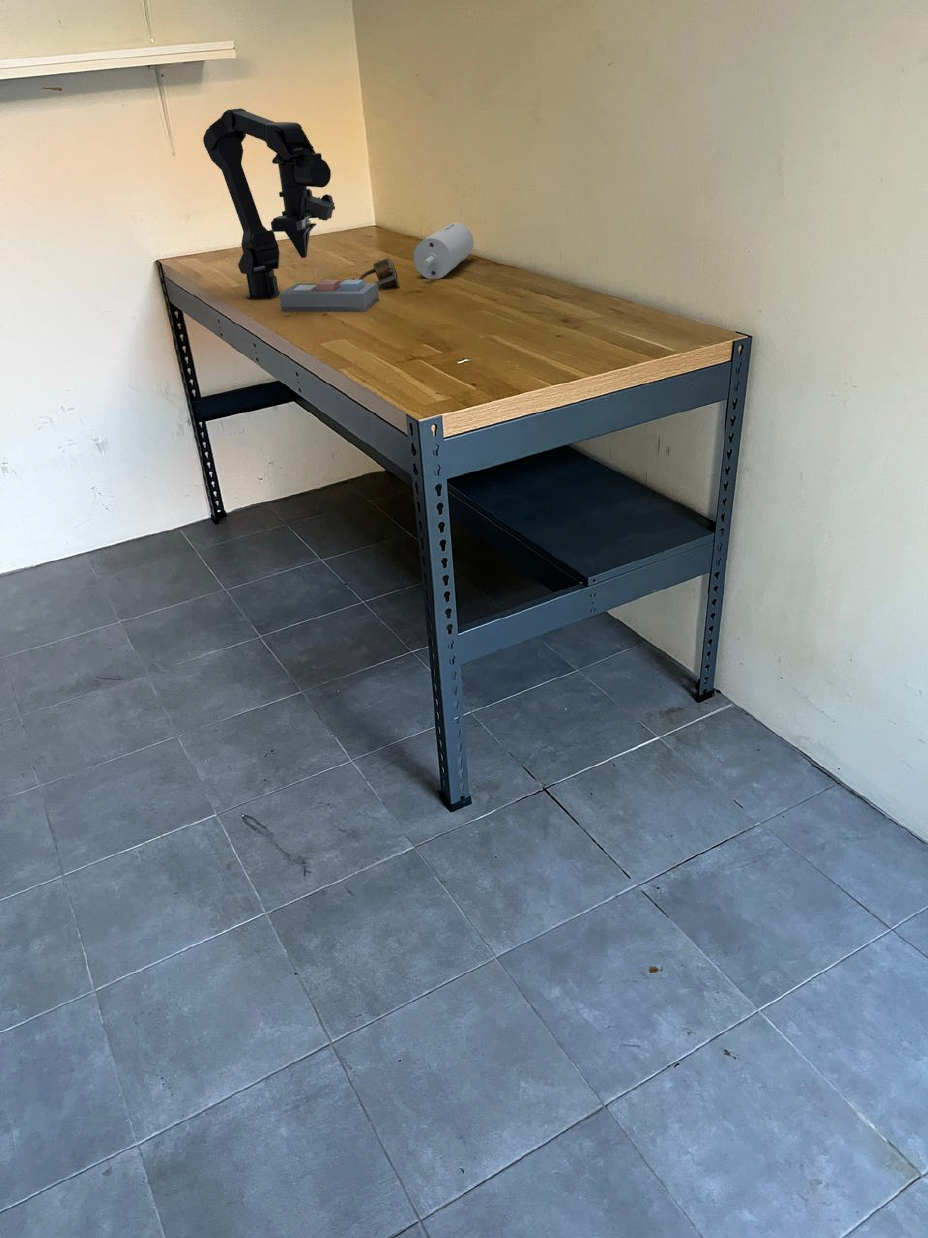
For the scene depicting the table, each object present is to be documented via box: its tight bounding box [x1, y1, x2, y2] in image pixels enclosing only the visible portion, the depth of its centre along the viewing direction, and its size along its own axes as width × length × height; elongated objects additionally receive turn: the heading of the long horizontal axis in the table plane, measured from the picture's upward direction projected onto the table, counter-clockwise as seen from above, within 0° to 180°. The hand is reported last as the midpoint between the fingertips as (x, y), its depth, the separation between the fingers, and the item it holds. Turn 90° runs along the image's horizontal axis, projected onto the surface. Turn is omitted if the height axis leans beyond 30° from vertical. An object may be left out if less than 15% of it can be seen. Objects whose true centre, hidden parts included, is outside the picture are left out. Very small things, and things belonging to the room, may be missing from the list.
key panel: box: [278, 282, 380, 313], centre depth 225 cm, size 21×11×4 cm, turn 77°
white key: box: [293, 285, 316, 291], centre depth 226 cm, size 4×4×3 cm
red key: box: [316, 279, 341, 291], centre depth 224 cm, size 4×4×3 cm
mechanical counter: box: [351, 257, 400, 289], centre depth 238 cm, size 7×13×10 cm
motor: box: [413, 222, 474, 280], centre depth 250 cm, size 30×10×10 cm, turn 165°
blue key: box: [340, 279, 365, 291], centre depth 223 cm, size 4×4×3 cm
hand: (303, 257), depth 221 cm, fingers closed
